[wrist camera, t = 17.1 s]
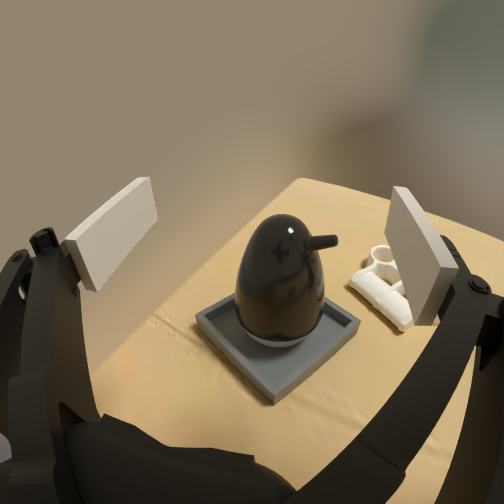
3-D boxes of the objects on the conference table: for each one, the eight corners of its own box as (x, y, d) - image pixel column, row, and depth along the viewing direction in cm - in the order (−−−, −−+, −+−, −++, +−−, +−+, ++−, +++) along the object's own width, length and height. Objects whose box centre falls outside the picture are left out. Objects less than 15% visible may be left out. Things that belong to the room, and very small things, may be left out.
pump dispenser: (306, 372, 29) (328, 261, 20) (222, 343, 33) (205, 233, 24) (328, 310, 36) (348, 206, 28) (257, 291, 40) (255, 189, 31)
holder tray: (279, 280, 43) (280, 267, 42) (356, 333, 34) (361, 320, 33) (198, 327, 36) (194, 314, 35) (273, 405, 27) (274, 395, 25)
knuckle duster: (333, 278, 44) (389, 252, 49) (415, 352, 31) (461, 307, 36) (337, 261, 42) (393, 237, 48) (424, 336, 29) (470, 292, 34)
